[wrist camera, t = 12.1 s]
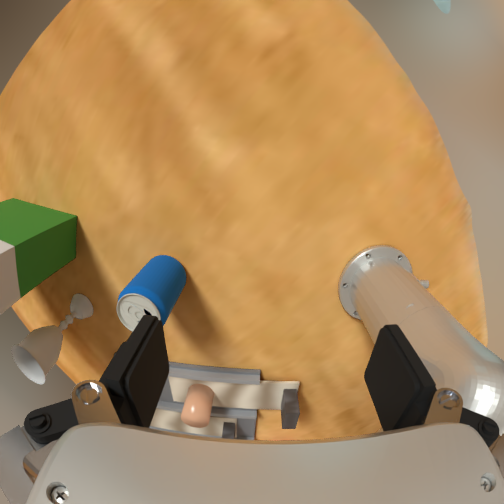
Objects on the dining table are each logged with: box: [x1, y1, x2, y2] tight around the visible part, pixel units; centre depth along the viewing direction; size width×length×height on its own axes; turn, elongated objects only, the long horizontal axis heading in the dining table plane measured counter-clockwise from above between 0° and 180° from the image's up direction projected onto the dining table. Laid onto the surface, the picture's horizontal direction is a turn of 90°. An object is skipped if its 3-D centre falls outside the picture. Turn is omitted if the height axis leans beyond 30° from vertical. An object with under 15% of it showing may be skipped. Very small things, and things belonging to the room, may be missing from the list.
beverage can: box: [117, 255, 186, 332], centre depth 36 cm, size 6×6×12 cm
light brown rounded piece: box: [181, 384, 214, 428], centre depth 45 cm, size 5×5×7 cm
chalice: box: [12, 294, 93, 384], centre depth 36 cm, size 7×7×18 cm
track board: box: [114, 353, 260, 440], centre depth 50 cm, size 28×24×2 cm
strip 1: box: [150, 408, 237, 439], centre depth 50 cm, size 24×8×7 cm, turn 87°
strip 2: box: [168, 376, 300, 429], centre depth 45 cm, size 24×8×7 cm, turn 87°
